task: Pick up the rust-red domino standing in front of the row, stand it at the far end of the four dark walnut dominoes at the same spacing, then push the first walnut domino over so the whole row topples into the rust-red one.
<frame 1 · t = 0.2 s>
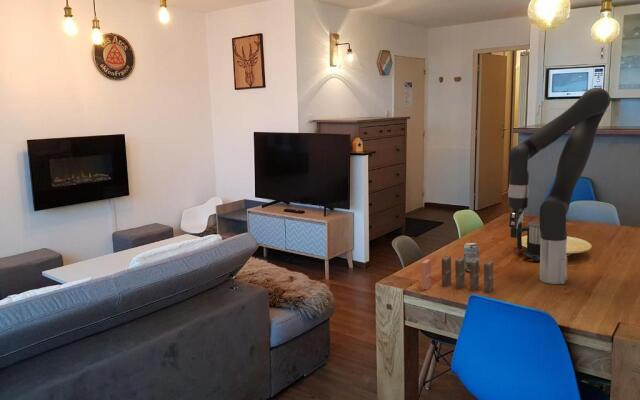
hand: (516, 235, 204), 17 cm above the table, tool pointing down, fingers open, 8 cm apart
end tile: (426, 288, 199), on the table
tile 3: (460, 286, 200), on the table
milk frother: (535, 257, 231), on the table
tile 4: (446, 284, 203), on the table
tile 1: (488, 290, 193), on the table
tile 2: (474, 288, 196), on the table
beverage can: (471, 270, 218), on the table
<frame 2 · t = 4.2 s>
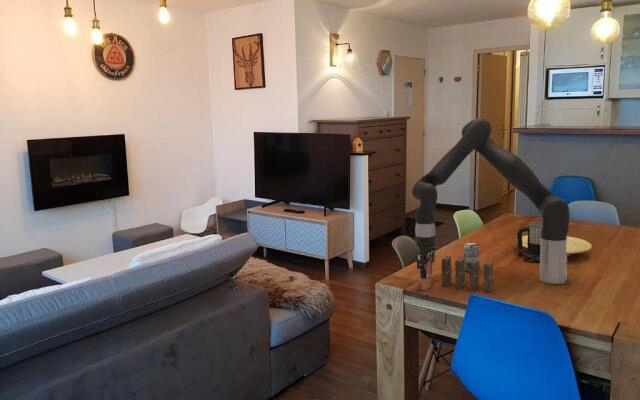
hand: (426, 276, 199), 5 cm above the table, tool pointing down, fingers closed on end tile, 5 cm apart
end tile: (426, 288, 199), on the table, touching gripper
when the fingers open (6 cm above the table, at t = 10.0 s): end tile stays where it is, on the table.
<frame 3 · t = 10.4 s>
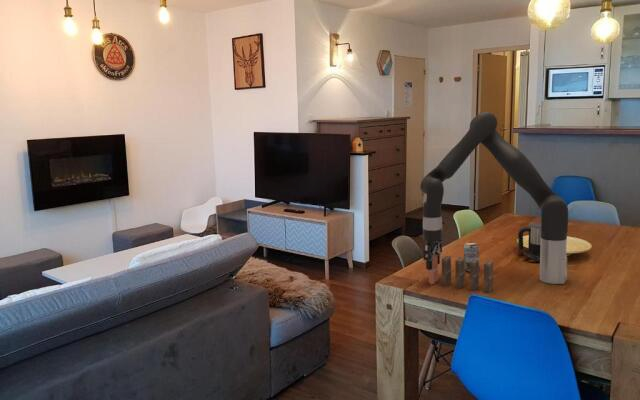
hand: (433, 266, 204), 7 cm above the table, tool pointing down, fingers open, 8 cm apart
end tile: (433, 282, 206), on the table
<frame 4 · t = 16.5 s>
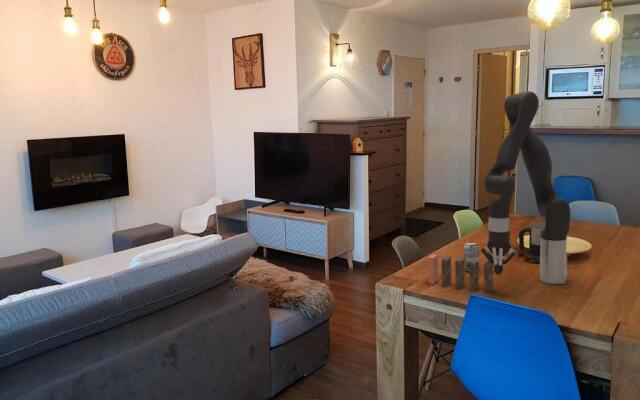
hand: (498, 273, 190), 7 cm above the table, tool pointing down, fingers closed
tile 1: (488, 290, 193), on the table, touching gripper
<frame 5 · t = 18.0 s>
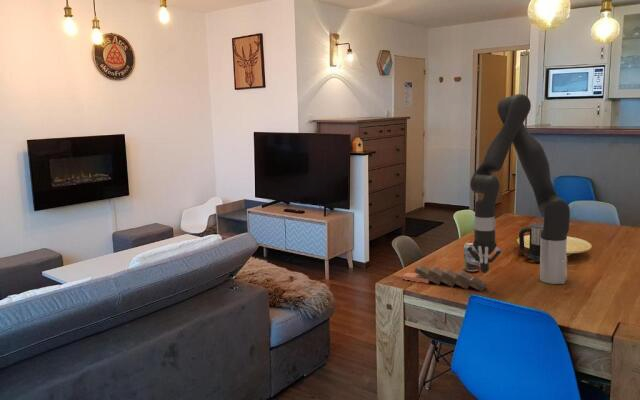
hand: (484, 272, 193), 7 cm above the table, tool pointing down, fingers closed
end tile: (430, 279, 206), point 1 cm above the table, tilted 89°, touching tile 4
tile 3: (455, 283, 201), point 1 cm above the table, tilted 67°, touching tile 2, tile 4
tile 4: (441, 281, 204), point 1 cm above the table, tilted 67°, touching end tile, tile 3
tile 1: (484, 287, 194), point 1 cm above the table, tilted 69°, touching tile 2
tile 2: (469, 285, 197), point 1 cm above the table, tilted 68°, touching tile 1, tile 3
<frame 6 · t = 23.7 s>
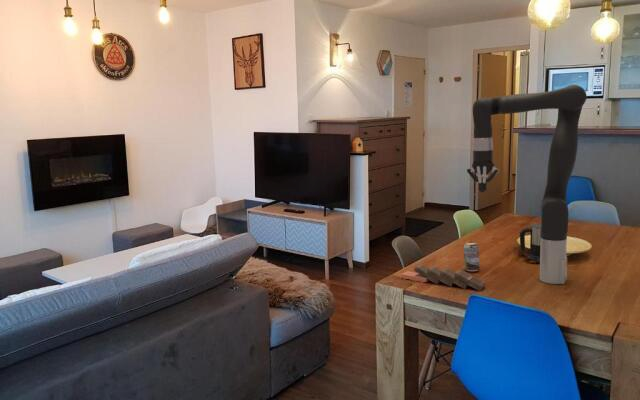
hand: (482, 191, 205), 35 cm above the table, tool pointing down, fingers closed
end tile: (428, 279, 207), point 1 cm above the table, tilted 89°, touching tile 4
tile 4: (440, 280, 204), point 1 cm above the table, tilted 69°, touching end tile, tile 3
at the end: end tile tilted 89°; end tile inside the target area (1.9 cm from its centre), point 0.8 cm above the table; tile 4 tilted 69° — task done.
